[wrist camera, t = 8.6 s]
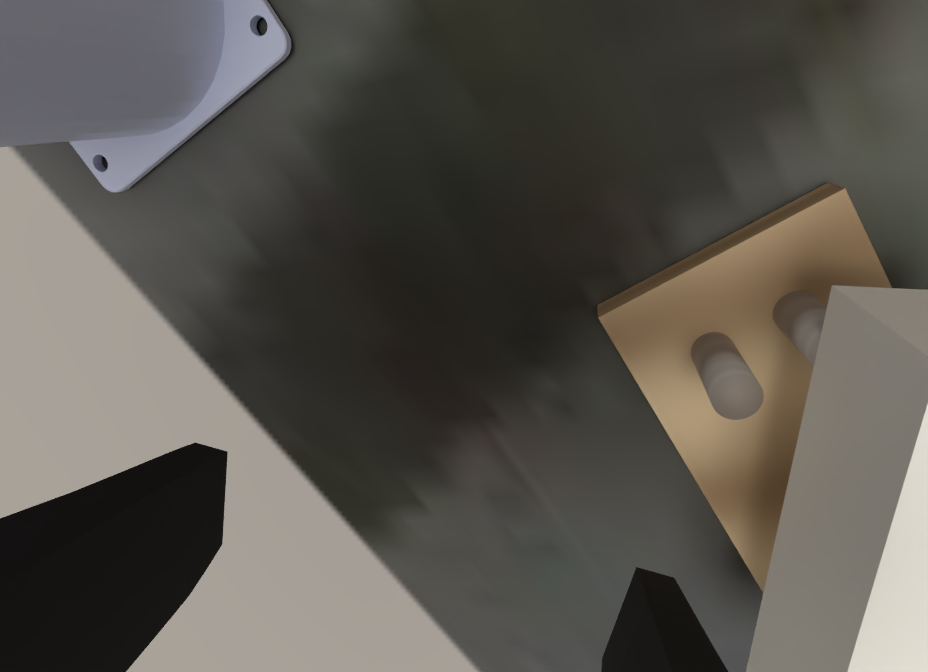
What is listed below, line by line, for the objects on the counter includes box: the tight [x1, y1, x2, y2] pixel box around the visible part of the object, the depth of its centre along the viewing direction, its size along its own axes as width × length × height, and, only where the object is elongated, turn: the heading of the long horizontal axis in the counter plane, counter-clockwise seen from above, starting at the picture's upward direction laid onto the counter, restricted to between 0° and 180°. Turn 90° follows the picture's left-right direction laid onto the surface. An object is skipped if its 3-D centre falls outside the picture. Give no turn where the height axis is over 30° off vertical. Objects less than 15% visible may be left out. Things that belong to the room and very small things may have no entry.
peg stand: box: [597, 183, 892, 593], centre depth 18 cm, size 14×7×4 cm, turn 33°
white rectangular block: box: [746, 285, 928, 672], centre depth 14 cm, size 12×4×4 cm, turn 0°
